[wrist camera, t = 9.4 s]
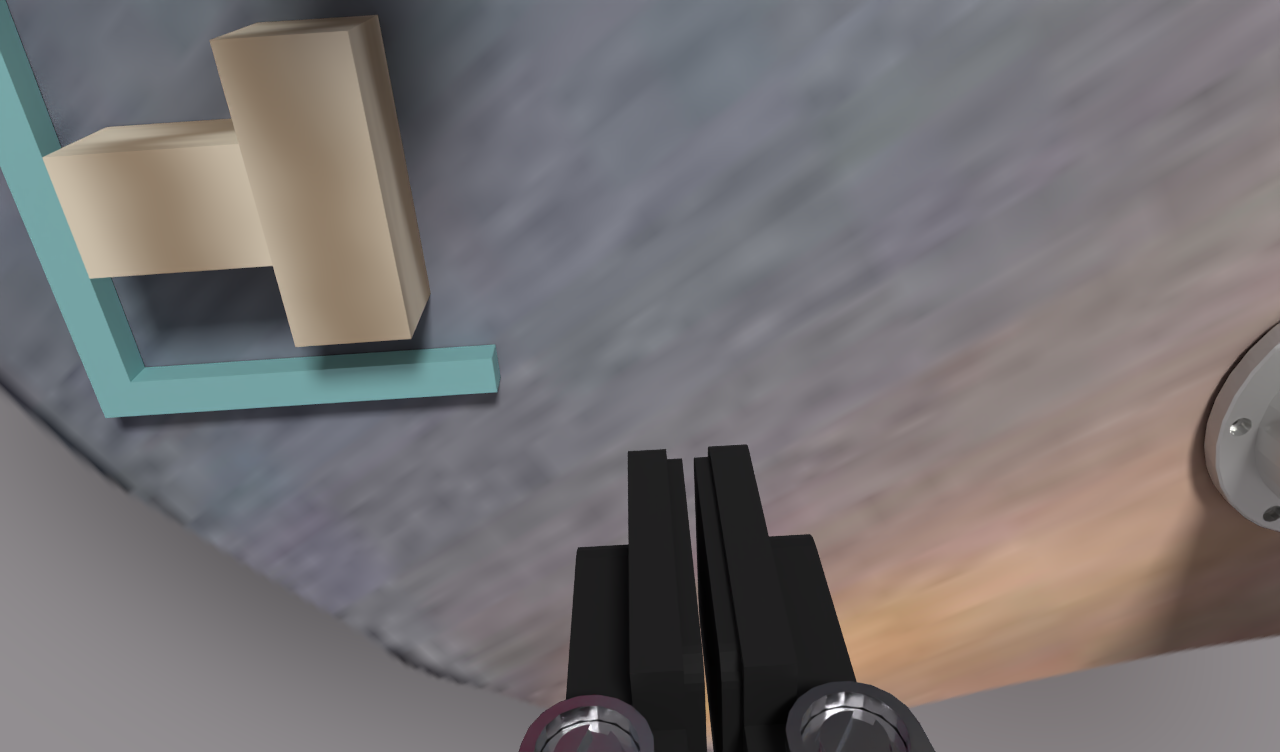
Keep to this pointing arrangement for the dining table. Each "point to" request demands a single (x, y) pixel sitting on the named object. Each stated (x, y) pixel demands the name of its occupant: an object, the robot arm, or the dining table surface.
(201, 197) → the t block
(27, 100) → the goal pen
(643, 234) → the dining table surface
